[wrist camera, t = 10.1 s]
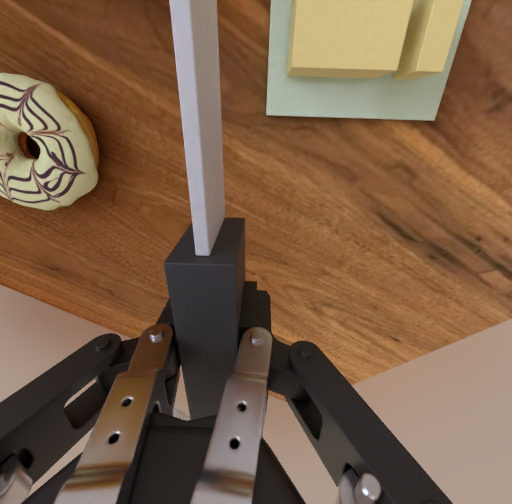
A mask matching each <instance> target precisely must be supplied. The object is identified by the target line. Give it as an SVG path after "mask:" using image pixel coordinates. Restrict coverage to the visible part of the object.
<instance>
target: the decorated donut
mask: <svg viewBox="0 0 512 504" xmlns="http://www.w3.org/2000/svg"><path fill="white" fill-rule="evenodd" d="M27 136H30V137H31V138H32V139H33V140H35V141H36V142H37V143H38V145H39V146H40V150H41V153H40V156H39V159H37V158H35V157H34V156H32V155H31V153H30V152H29V149H28V146H27V139H28V138H27ZM98 165H99V148H98V144H97V138H96V134H95V130H94V129H93V127H92V124H91V122H90V120H89V119H88V117H87V116H86V115H85V114H83V113H82V112H81V111H80V109H79V108H78V107H77V106H76V105H75V104H74V103H73V102H72V101H71V100H70V99H69V98H68V97H66V96H65V95H64V94H63V93H62V92H60V91H58V90H56V89H55V88H54V87H53V86H52V85H50V84H48V83H44V82H41V81H38V80H35V79H32V78H30V77H27V76H24V75H18V74H8V73H0V196H2V197H5V198H7V199H9V200H10V201H12V202H14V203H18V204H20V205H24V206H28V207H34V208H39V209H42V210H54V209H56V208H59V207H62V206H69V205H71V204H72V203H73V202H74V201H75V200H77V199H78V198H79V197H81V196H83V195H84V194H86V193H88V192H90V191H91V190H92V189H93V188H94V187H95V186H96V184H97V182H98V172H97V169H98Z"/></svg>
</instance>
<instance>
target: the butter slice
mask: <svg viewBox="0 0 512 504" xmlns="http://www.w3.org/2000/svg"><path fill="white" fill-rule="evenodd" d="M463 3H464V0H413V5H412V9H411V13H410V18H409V22H408V26H407V30H406V35H405V39H404V43H403V48H402V52H401V56H400V61H399V65H398V69H397V71H395V72H394V74H393V78H392V79H400V80H416V79H420V78H423V77H427V76H430V75H434V74H437V73H441V72H443V70H444V66H445V63H446V60H447V56H448V53H449V50H450V46H451V43H452V40H453V36H454V33H455V30H456V26H457V23H458V20H459V16H460V13H461V10H462V6H463Z"/></svg>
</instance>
